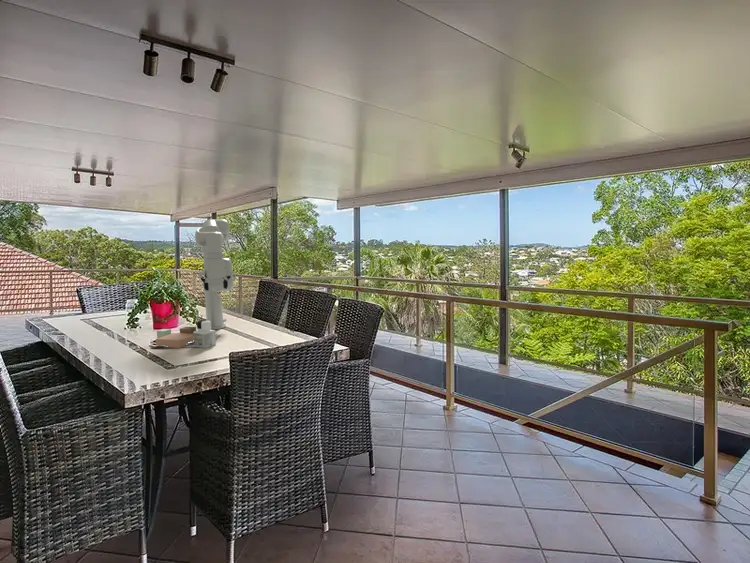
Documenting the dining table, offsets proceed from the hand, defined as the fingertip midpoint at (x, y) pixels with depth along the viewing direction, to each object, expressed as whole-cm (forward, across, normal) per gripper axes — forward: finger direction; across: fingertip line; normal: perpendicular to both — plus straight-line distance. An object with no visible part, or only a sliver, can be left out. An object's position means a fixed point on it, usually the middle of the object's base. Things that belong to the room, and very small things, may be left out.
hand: (216, 289), depth 227 cm
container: (+28, +8, +2) cm, 29 cm away
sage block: (+28, +19, -30) cm, 45 cm away
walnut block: (+28, +9, -21) cm, 36 cm away
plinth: (+28, +17, -12) cm, 35 cm away
